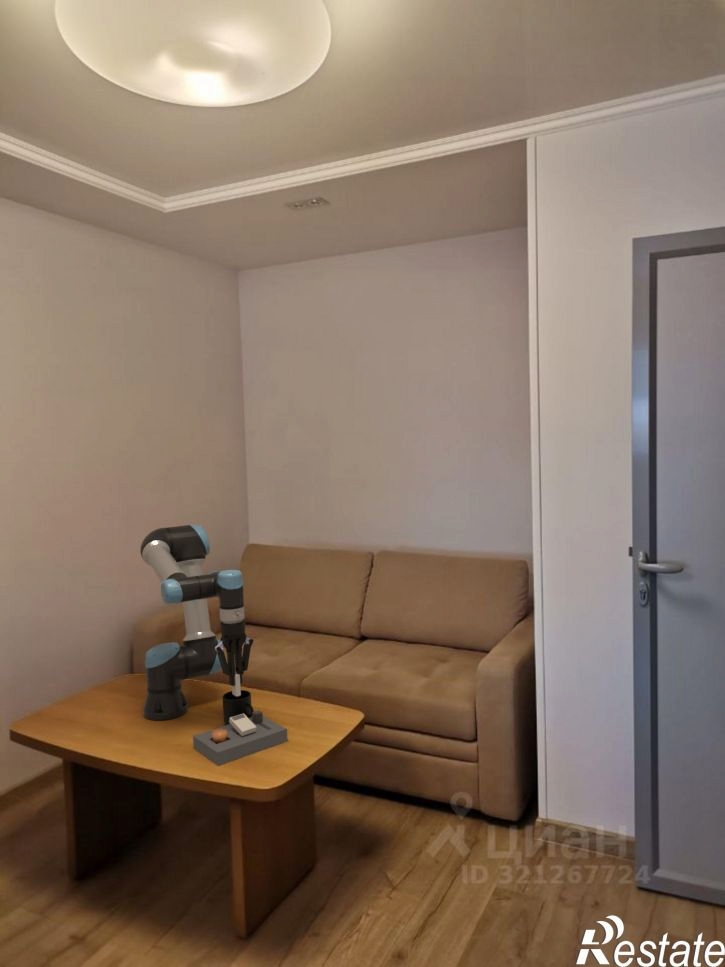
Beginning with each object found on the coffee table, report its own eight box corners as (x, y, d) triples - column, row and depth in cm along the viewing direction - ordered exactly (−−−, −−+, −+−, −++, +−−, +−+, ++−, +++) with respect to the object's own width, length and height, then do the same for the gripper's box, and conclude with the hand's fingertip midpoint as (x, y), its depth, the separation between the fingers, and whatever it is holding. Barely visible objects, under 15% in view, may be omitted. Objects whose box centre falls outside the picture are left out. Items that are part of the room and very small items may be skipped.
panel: (193, 748, 226) (192, 732, 225) (260, 726, 241) (260, 711, 240) (218, 765, 213) (217, 748, 213) (287, 741, 228) (286, 725, 228)
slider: (252, 721, 234) (252, 712, 234) (258, 719, 236) (258, 710, 236) (256, 723, 232) (255, 714, 232) (262, 721, 234) (262, 712, 234)
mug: (244, 730, 238) (242, 703, 237) (217, 723, 245) (216, 696, 244) (263, 720, 246) (262, 694, 245) (237, 713, 252) (236, 688, 252)
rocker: (229, 722, 229) (229, 717, 228) (243, 717, 232) (243, 713, 231) (241, 736, 223) (242, 731, 222) (256, 731, 226) (256, 726, 226)
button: (210, 750, 223) (209, 731, 223) (223, 746, 226) (222, 727, 225) (217, 755, 220) (216, 736, 219) (230, 750, 222) (229, 732, 222)
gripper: (219, 626, 220) (223, 703, 222) (257, 618, 228) (260, 692, 230) (207, 622, 226) (212, 697, 227) (244, 614, 234) (248, 686, 236)
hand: (236, 694), depth 229 cm, fingers closed
